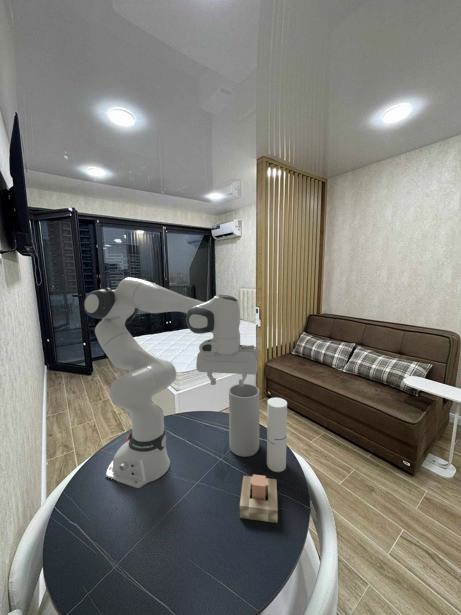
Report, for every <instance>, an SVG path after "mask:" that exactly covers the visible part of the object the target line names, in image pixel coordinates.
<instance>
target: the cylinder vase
mask: <svg viewBox="0 0 461 615" xmlns="http://www.w3.org/2000/svg"><path fill="white" fill-rule="evenodd" d="M228 423H229V424H228V425H229V426H228V432H229V433H228V434H229V436H228V437H229V438H228V441H229V450H230V451H231V452H232V453H233V454H234V455H236V456H239V457H251V456H254V455H255V454H257V452H258V451H259V449H260V389H259V387H257V386H255V385H254V384H249V383H244V386H243V387H241V386H239V383H237V384H234V385H232V386H230V387H229V389H228Z"/></svg>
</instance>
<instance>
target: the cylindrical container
mask: <svg viewBox="0 0 461 615" xmlns="http://www.w3.org/2000/svg"><path fill="white" fill-rule="evenodd" d="M266 409H267V412H266V414H267V417H266V419H267V420H266V422H267V423H266V424H267V425H266V426H267V427H266V433H267V434H266V465H267V468H268V469H269V471H270V470H271V471H272V472H276V473H281V472H283V471H285V470H286V468H287V440H288V438H287V437H288V436H287V434H288V433H287V432H288V430H287V429H288V428H287V427H288V402H287V400H286V399H285V398H284V399H283V398H282V397H271V398H268V400H267V408H266Z"/></svg>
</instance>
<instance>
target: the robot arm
mask: <svg viewBox="0 0 461 615" xmlns="http://www.w3.org/2000/svg"><path fill="white" fill-rule="evenodd" d="M83 309H84V312H85V314H86V315H88V316H89V317H90V318H93V319H101V321H99V322H98V323H97V325H96V326H95V329H94V334H95V336H96V339H97V342H98V343H99V345H100V347H101V349H102V350H103V352H104V353H105V355H106V356H107V358H108V359H109V361H110V362H111V364H112V365H113V367H115V368H117V369H118V370H126V371H128V372H127V373H124V374H123V375H121V376H120V377H118V378H117V379H115V380H113V382H112V384H111V386H110V388H109V396H110V399H111V402H112V403H113V404H114V405H115V406H116V407H118V408H120V409H123V410H125V411H127V412H128V415H129V417H130V420H131V430H132V431H130V432H129V434H128V436H127V437H126V438H125V440H126V441H125V442H124V443H123V444H122V445H121V446H120V447H119V448H118V450H117V452H116V453H115V454H114V457H113V460H112V461H111V463H110V464H109V465H108V467H107V469H106V472H105V477H106V478H107V477H108V478H107V479H109V478H111V479H110V480H112V479H114V480H113V481H115V480H116V482H118V483H121V484H124V485H127V486H130V487H133V488H136V489H140V488H142V487H144V486H145V485H146V484H148V483H150V482H151V483H152V482H154V481H156V480H158V479H159V478H162V477H163V475H165V474H166V473H167V472H168V470H169V468H170V465H171V460H170V458H169V455H168V452H167V447H166V446H167V445H166V443H167V436H166V428H165V421H164V420H165V418H164V417H165V416H164V409H163V408H162V407H161V406H160V405H159V404H157V403H154V402H153V397H154V396H155V395H157V394H159V393H160V392H162V391H164V390H166V389H167V388H169V387H170V386H171V385H172V384H173V383H174V382H175V381H176V378H177V370H176V367H175V366H174V364H173V363H172V362H171V361H168V360H165V359H160V358H158V357H156V356H154V355H153V354H151V353H149V352H148V351H146V350H144V349H143V347H142V346H141V345H140V344H139V343H138V341H136V339H135V338H134V337H133V335H132V334H131V333H130V332H129V330H128V329H127V327H126V325H128V324H130V323H132V321H133V319H134V318H135V317H137V315H138V313H139V311H142V312H145V313H150V314H161V313H168V312H169V313H170V312H178V313H179V312H181V313H185V314H186V315H185V322H186V325H187V328H188V329H189V330H190V331H191V332H192V333H194V334H198V335H204V334H207V333H212V338H209V339H206V340H204V341H203V342H201V343H200V344H199V346H198V349H199V350H198V351H199V352H198V353H197V356H196V364H195V366H196V367H195V369H196V370H197V372H199V373H207V374H206V376H207V377H208V379H209V381H210V385H211V386H215V385H216V384H217V378H216V377H214V376H213V375H212V374H213V373H214V374H232V375H233V374H237V375H242V376H241V377H242V378H241V379H239V380H238V384H239V386H241V387H243V386H244V384H245V380H246V379H247V376H248V375H253V376H254V375H256V374H257V373H258V370H259V368H258V358H259V353H260V351H259V348H258V347H256V346H254V345H253V344H250V345H245V344H244V345H243V344H241V333H240V324H241V311H240V310H241V309H240V304H239V300H238V299H237V298H236V297H234V296H232V295H228V294H216V295H215V296H214V297H213V298H211V299H209V300H208V301H203V300H200V299H196V298H193V297H190V296H187V295H183V294H181V293H179V292H176V291H173V290H171V289H168V288H166V287H163V286H161V285H159V284H157V283H154V282H152V281H148V280H145V279H141V278H135V277H126V278H123V279H122V280H121V281H120V282H119V283H118V286H117V287H116V288H115V289H111V288H110V287H106V288H102V289H97V290H95V289H94V290H92V291H90V292H89V293H87V295H86V296H85V298H84V301H83Z"/></svg>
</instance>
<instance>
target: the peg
mask: <svg viewBox="0 0 461 615" xmlns="http://www.w3.org/2000/svg"><path fill="white" fill-rule="evenodd" d="M252 477H253V481H252V494H251V499H257V500H265V501H266V496H265V485H266V478H267V475H261V474H255V473H254V474H252Z"/></svg>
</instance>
